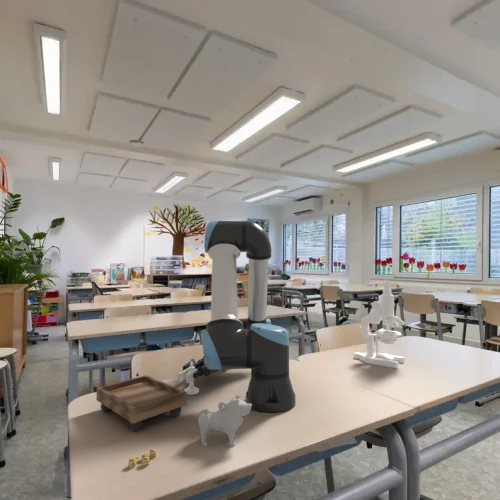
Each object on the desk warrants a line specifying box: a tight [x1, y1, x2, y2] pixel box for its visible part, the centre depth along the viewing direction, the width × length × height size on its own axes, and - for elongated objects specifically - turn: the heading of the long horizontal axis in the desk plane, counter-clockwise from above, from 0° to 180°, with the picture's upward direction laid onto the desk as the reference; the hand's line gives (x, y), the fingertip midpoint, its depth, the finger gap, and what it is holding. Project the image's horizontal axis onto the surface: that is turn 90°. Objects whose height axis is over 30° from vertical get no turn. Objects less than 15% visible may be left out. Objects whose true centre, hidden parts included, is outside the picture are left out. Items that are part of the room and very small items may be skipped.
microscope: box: [353, 279, 406, 369], centre depth 150 cm, size 18×20×35 cm
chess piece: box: [183, 360, 200, 395], centre depth 116 cm, size 5×5×10 cm
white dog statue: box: [197, 394, 252, 448], centre depth 83 cm, size 5×13×11 cm, turn 87°
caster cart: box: [96, 374, 188, 432], centre depth 99 cm, size 22×16×6 cm
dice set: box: [128, 448, 157, 470], centre depth 75 cm, size 5×5×2 cm
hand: (183, 378), depth 111 cm, fingers closed on chess piece, 2 cm apart
